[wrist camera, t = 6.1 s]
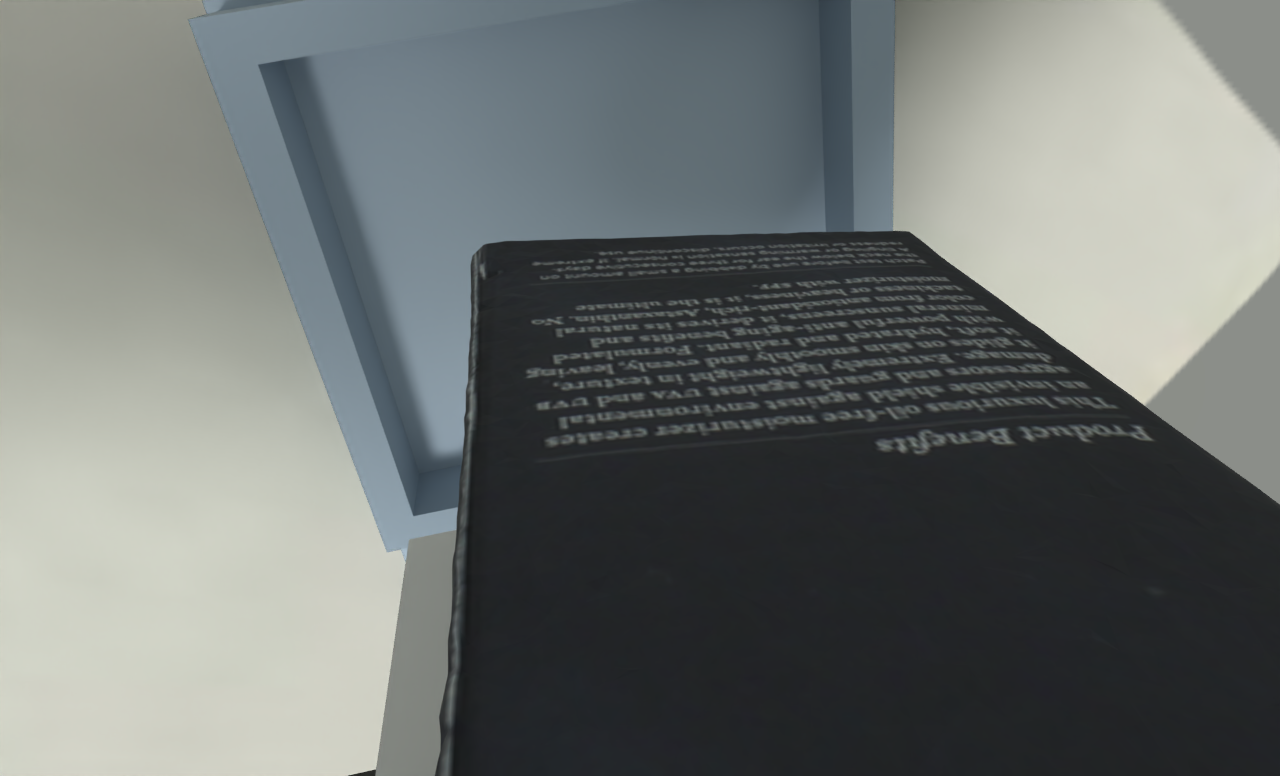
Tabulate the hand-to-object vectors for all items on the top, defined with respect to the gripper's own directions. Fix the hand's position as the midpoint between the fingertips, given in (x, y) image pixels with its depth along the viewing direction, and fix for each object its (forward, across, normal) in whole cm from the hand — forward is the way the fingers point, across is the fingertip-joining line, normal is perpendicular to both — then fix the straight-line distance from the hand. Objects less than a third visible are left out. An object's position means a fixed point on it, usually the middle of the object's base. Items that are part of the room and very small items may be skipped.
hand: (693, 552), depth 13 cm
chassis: (+16, 0, -4) cm, 17 cm away
